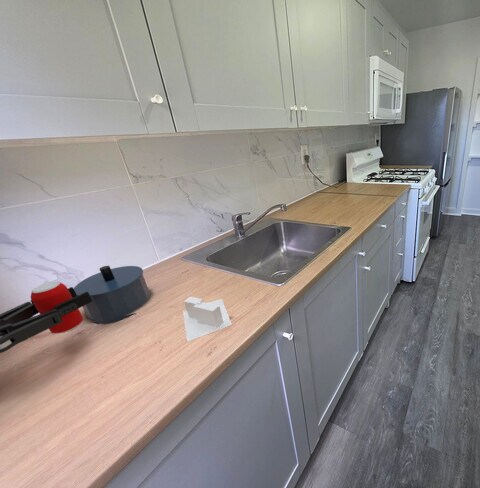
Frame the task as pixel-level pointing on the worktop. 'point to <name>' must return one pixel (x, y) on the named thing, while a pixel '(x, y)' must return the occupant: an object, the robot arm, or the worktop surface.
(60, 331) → the beverage can
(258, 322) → the worktop surface
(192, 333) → the napkin holder
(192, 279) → the worktop surface
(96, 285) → the pot lid
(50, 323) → the robot arm
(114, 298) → the pot
